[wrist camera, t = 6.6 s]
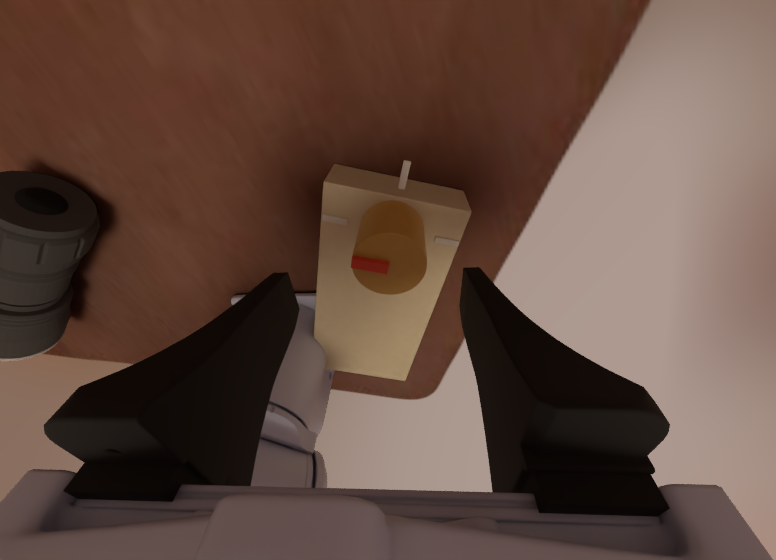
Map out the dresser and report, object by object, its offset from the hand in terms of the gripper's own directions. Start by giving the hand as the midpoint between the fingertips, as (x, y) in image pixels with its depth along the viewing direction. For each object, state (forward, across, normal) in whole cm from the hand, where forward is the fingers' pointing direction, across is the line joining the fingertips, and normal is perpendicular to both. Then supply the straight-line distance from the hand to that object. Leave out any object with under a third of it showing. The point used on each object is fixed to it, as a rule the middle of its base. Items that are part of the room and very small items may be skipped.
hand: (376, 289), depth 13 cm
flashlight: (+9, +25, +3) cm, 27 cm away
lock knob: (+6, 0, 0) cm, 6 cm away
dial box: (+9, +1, +6) cm, 11 cm away
